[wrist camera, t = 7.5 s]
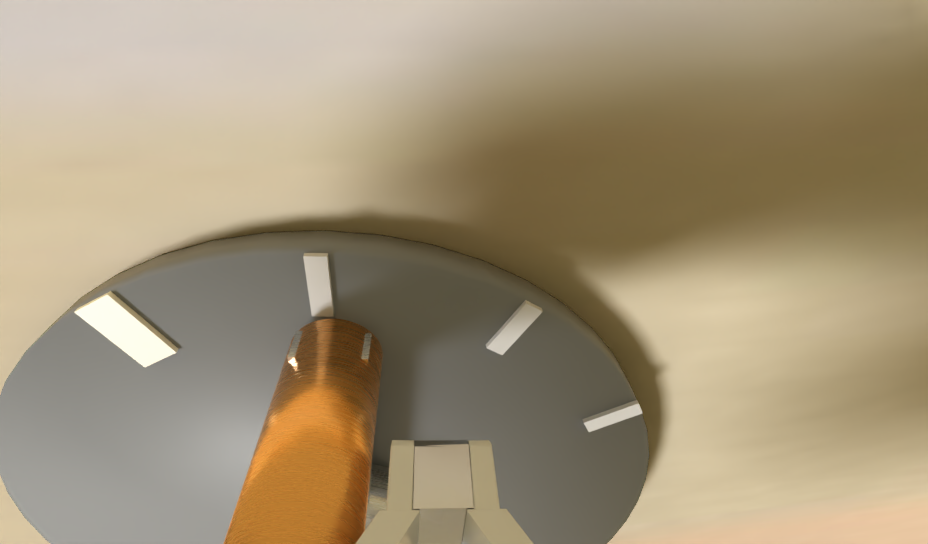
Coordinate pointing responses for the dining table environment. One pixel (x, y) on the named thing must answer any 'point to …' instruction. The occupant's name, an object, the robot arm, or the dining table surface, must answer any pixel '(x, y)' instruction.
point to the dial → (317, 444)
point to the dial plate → (258, 369)
